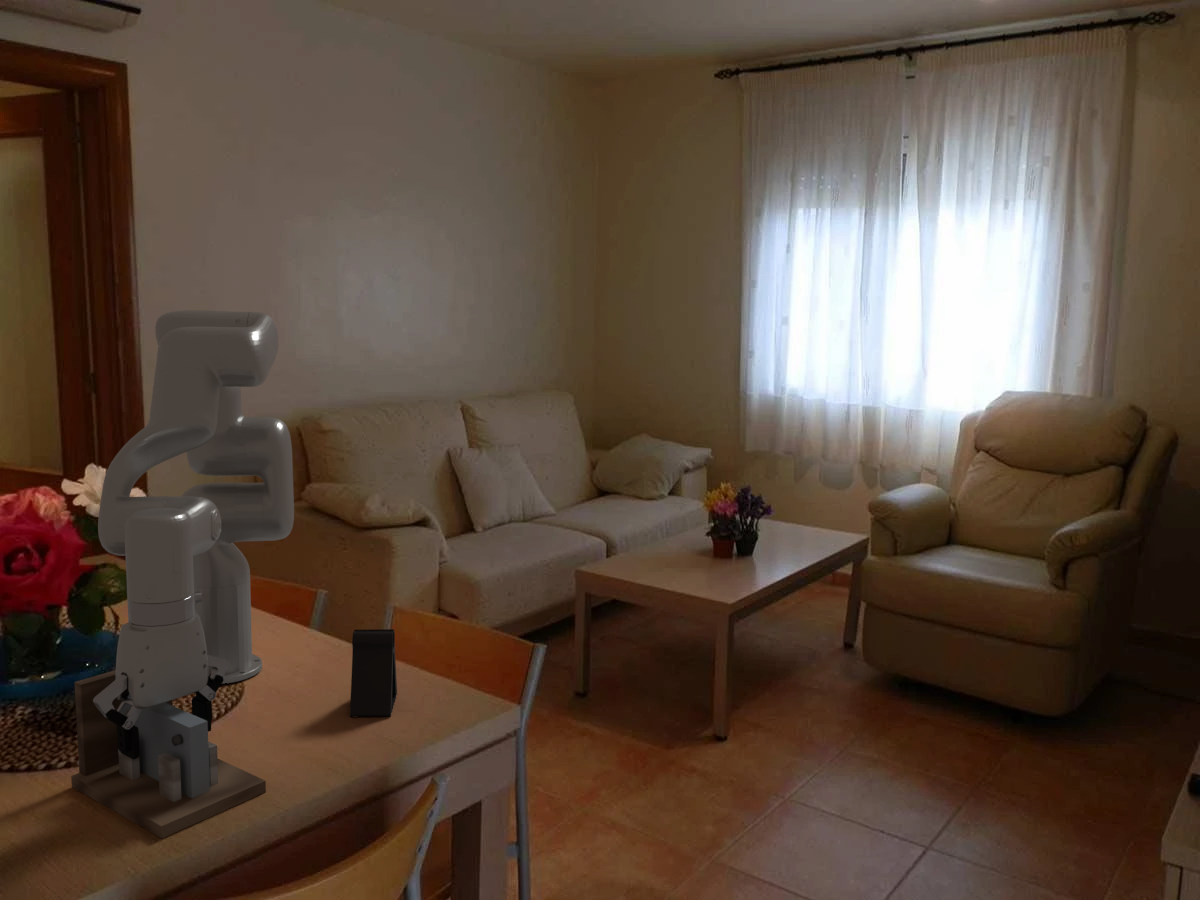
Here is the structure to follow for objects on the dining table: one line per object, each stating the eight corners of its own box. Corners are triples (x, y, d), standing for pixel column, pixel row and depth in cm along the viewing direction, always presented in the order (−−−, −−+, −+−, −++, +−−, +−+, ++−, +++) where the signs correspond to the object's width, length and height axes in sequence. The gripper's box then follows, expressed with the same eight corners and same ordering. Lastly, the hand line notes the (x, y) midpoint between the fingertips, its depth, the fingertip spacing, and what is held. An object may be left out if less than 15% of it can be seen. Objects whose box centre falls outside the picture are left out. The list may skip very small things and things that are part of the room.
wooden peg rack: (71, 786, 126) (66, 684, 124) (174, 748, 137) (170, 654, 135) (162, 838, 114) (157, 726, 112) (265, 791, 126) (263, 689, 124)
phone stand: (390, 717, 149) (390, 640, 147) (349, 718, 149) (348, 640, 147) (397, 694, 158) (397, 621, 156) (359, 694, 157) (358, 621, 156)
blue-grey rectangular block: (122, 767, 128) (119, 700, 127) (146, 758, 131) (143, 693, 129) (186, 800, 120) (183, 729, 119) (209, 790, 123) (207, 721, 121)
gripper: (206, 588, 131) (210, 712, 134) (75, 620, 117) (82, 758, 120) (241, 599, 127) (245, 727, 130) (109, 633, 113) (116, 776, 116)
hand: (167, 742), depth 125 cm, fingers open, 9 cm apart
